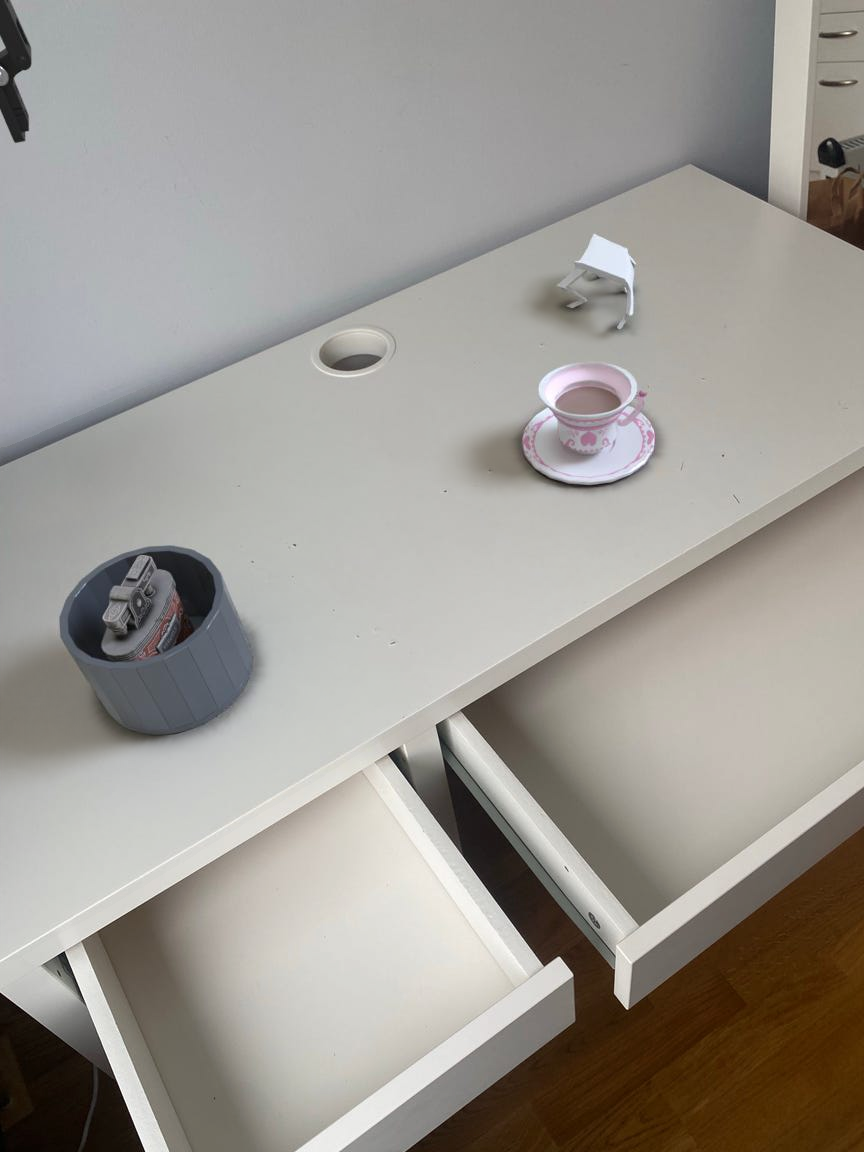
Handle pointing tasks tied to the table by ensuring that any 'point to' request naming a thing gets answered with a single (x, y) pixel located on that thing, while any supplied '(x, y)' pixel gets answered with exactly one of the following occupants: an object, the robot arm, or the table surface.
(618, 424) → the teacup
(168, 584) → the lighter
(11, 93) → the robot arm
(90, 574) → the blue-grey round bin
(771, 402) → the table surface
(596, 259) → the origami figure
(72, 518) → the table surface
